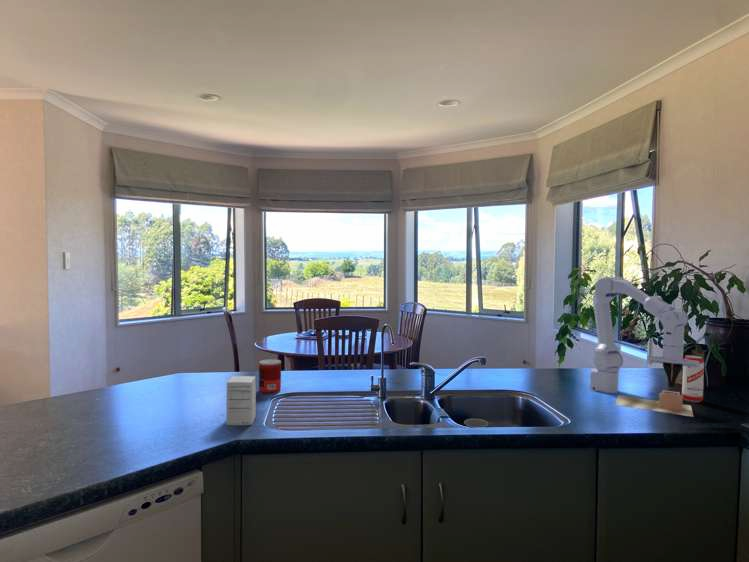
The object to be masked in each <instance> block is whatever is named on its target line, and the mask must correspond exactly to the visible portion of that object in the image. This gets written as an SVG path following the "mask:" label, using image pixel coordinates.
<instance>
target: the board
mask: <svg viewBox="0 0 749 562" xmlns="http://www.w3.org/2000/svg"><path fill="white" fill-rule="evenodd" d="M614 405H615V406H620V407H627V408H634V409H639V410H640V409H641V410H647V411H652V412H660V413H665V414H672V415H679V416H685V417H691V418H693V417H694V414H693V413H694V412H693V409H692V405H689V404H683V407H682V411H676V410H669V409H663V408H659V400H655V399H648V398H641V397H633V396H626V395H617V397H616V400H615V404H614Z"/></svg>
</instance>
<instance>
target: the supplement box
mask: <svg viewBox="0 0 749 562" xmlns="http://www.w3.org/2000/svg"><path fill="white" fill-rule="evenodd" d="M256 378H257V377H256V376H254V375H253V376H252V375H250V376H249V375H245V376H243V375H242V376H241V375H239V376H235V375H234V376H233V375H232V376H231V377H229V379H228V380H227V381H226V426H251V425H253V424H254V423H253V422H254V420H255V419H256V411H257V410H256V403H257V402H256V401H257V400H256V399H257V398H256V396H257V393H256V391H257V389H256V388H257V387H256V385H257V384H256V383H257V382H256V380H257V379H256Z"/></svg>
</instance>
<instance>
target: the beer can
mask: <svg viewBox="0 0 749 562" xmlns="http://www.w3.org/2000/svg"><path fill="white" fill-rule="evenodd" d="M684 359H687V360H694V361H699V368H695V367H689V366H682V379H681V380H682V385H681V396H682V398H683V400H684V401H686V402H689V401H690V403H700V402H702V401H703V396H704V378H705V377H704V372H705V371H704V370H705V361H704V359H703V357H702V356H700V355H699V356H698V355H692V354H691V355H685V357H684Z"/></svg>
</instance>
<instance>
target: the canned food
mask: <svg viewBox="0 0 749 562" xmlns="http://www.w3.org/2000/svg"><path fill="white" fill-rule="evenodd" d="M281 388H282V361H281V360H280V359H275V358H274V359H273V358H272V359H271V358H269V359H262V360H259V362H258V391H259V393H260V394H265V395H271V394H277V393H279V392H280V391H281Z"/></svg>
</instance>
